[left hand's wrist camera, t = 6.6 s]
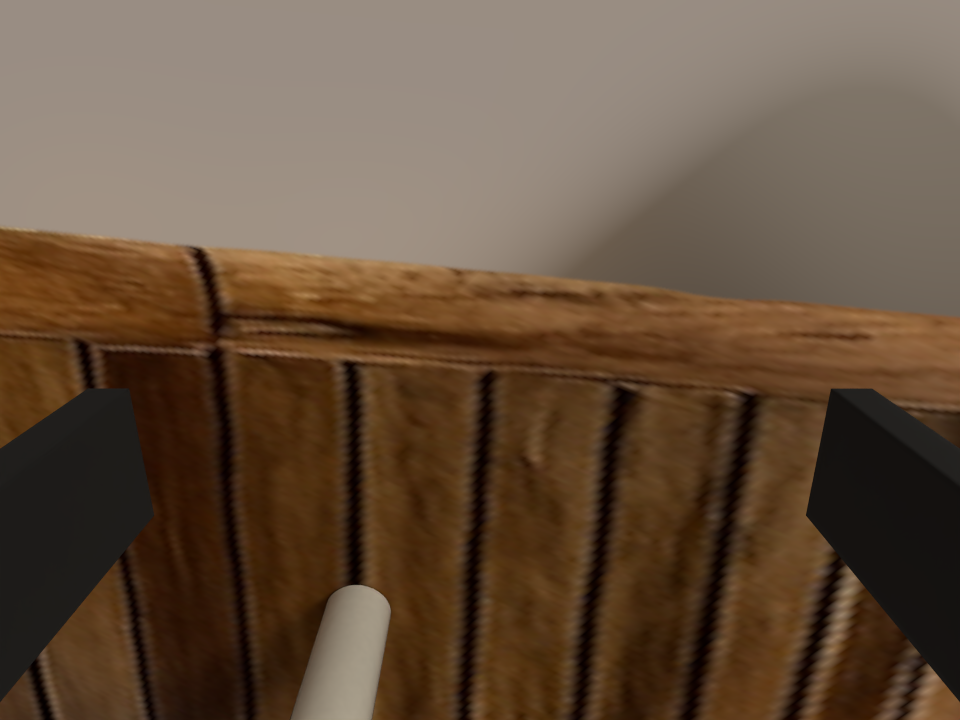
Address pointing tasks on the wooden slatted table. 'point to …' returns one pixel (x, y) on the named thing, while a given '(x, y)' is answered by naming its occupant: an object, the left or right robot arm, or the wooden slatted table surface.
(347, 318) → the wooden slatted table surface
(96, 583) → the left robot arm
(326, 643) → the bottle
